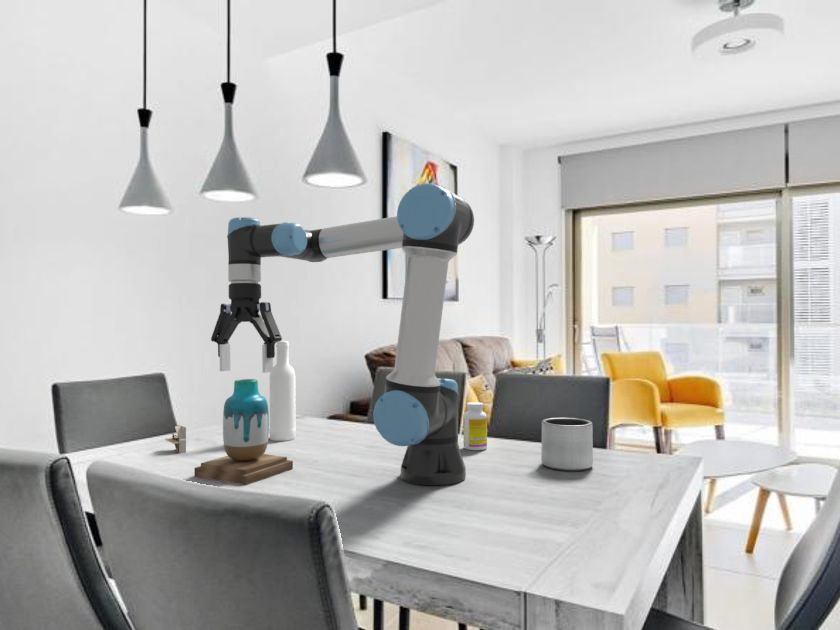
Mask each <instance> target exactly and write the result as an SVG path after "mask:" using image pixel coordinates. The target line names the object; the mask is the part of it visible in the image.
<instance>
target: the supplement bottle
mask: <svg viewBox="0 0 840 630" xmlns="http://www.w3.org/2000/svg"><path fill="white" fill-rule="evenodd" d="M466 409H467V411H465V412H464V413H463V417H462V419H463V448H464V449H465V450H467V451H473V452H474V451H477V452H478V451H484V450H486V449H487V448H488V423H487V422H488V419H487V418H488V415H487V413H486V412H485V411H484V410H483V409H484V403H483V402H477V401H476V402H475V401H473V402H472V401H471V402H466Z"/></svg>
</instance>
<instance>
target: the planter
mask: <svg viewBox="0 0 840 630" xmlns="http://www.w3.org/2000/svg"><path fill="white" fill-rule="evenodd" d="M593 434H594V433H593V421H590V420H588V419H583V418H577V417H549V418H544V419H542V420H541V453H540V454H541V457H540V458H541V459H540V460H541V464H542V465H543V466H545V467H546V468H548V469H552V470H557V471H561V472H562V471H563V472H579V471H580V472H582V471H585V470H588V469H590V468H591V467H593V464H594V449H593V448H594V447H593V446H594V444H593V443H594V441H593V440H594V439H593Z"/></svg>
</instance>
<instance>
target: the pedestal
mask: <svg viewBox="0 0 840 630" xmlns="http://www.w3.org/2000/svg"><path fill="white" fill-rule="evenodd" d="M293 461H294V460H289V459H288V457H287V456H281V455H273V454H267V453H264V454H263V455H262V456H261V457H259V458H256V459H253V460H248V461H240V460H234V459H232V458H230V457H229V456H228V455H226V456H223V457H218V458H215V459H211V460H207V461H204V462H201V463H200V466H197V467H194V477H196V478H203V479H209V480H214V481H219V482H220V481H221V482H226V483H233V484H237V485H243V486H248V485H250V484H254V483H256V482H259V481H262V480H265V479H268V478H271V477H273V476H276V475H279V474H282V473H285V472H287V471H291V470H293V469H294V467H293V465H294V462H293Z"/></svg>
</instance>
